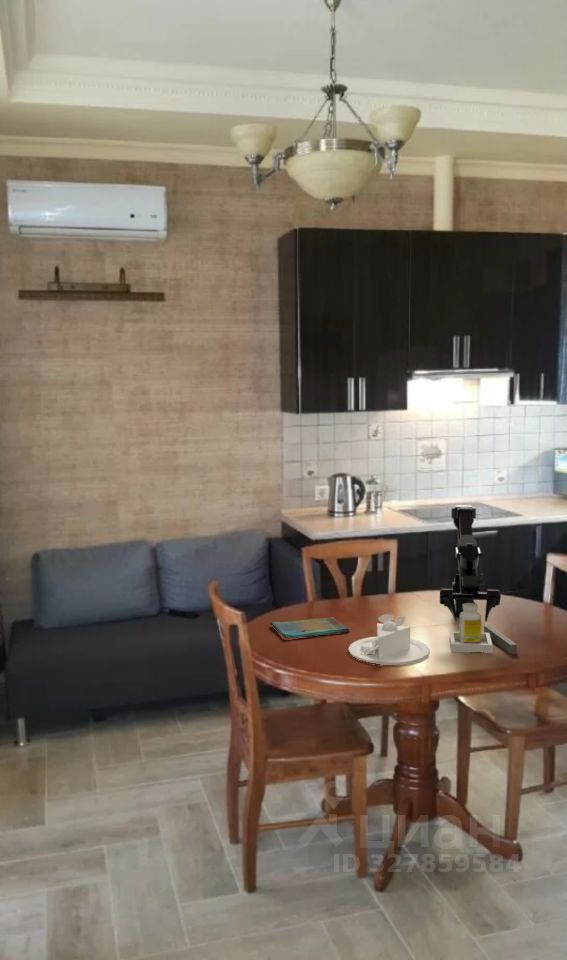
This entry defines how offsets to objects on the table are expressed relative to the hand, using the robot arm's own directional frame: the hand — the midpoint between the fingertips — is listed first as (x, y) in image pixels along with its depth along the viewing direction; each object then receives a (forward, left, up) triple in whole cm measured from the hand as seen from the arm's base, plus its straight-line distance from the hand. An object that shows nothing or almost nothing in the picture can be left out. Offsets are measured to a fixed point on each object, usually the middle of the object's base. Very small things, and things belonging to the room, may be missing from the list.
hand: (470, 620), depth 248 cm
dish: (-26, -3, -9) cm, 28 cm away
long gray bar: (+10, +3, -9) cm, 13 cm away
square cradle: (0, +1, -9) cm, 9 cm away
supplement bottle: (0, +2, -8) cm, 8 cm away
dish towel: (-51, +20, -9) cm, 55 cm away
